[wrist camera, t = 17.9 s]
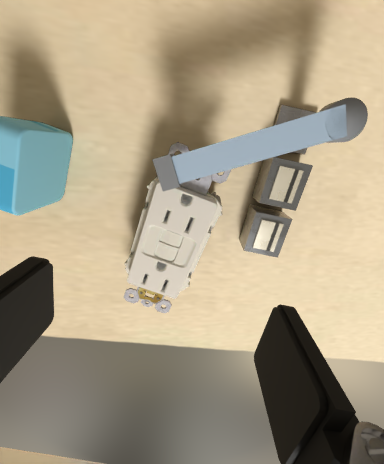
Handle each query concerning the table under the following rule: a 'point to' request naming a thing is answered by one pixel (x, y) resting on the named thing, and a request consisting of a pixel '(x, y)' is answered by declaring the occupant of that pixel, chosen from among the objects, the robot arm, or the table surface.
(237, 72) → the table surface
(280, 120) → the post
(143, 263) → the electrical outlet
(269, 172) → the frame
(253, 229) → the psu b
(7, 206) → the data package
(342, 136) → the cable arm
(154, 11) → the table surface
